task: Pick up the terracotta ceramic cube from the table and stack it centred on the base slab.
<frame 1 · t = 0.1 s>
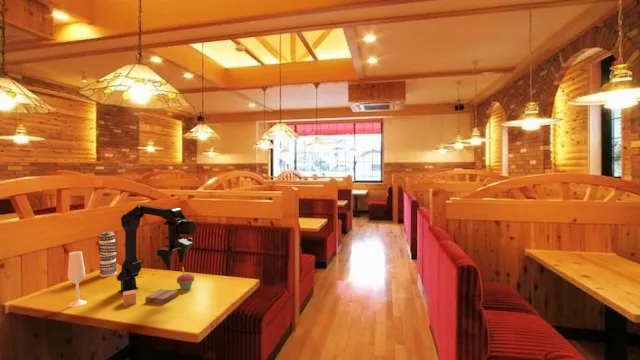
hand: (175, 265, 164), 15 cm above the table, tool pointing down, fingers open, 9 cm apart
cube: (129, 303, 156), on the table
champagne flute: (78, 304, 155), on the table
decorative candle: (108, 274, 198), on the table
cupcake: (185, 288, 174), on the table
base: (162, 298, 160), on the table
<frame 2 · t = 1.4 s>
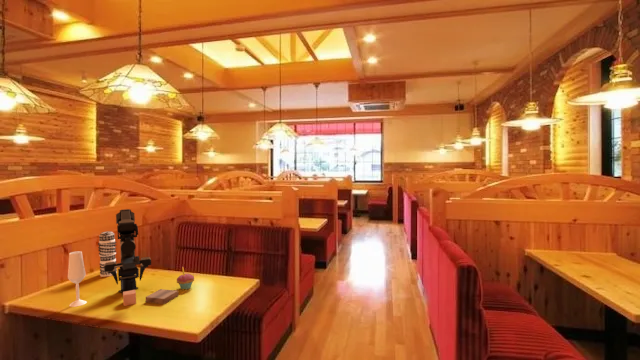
hand: (129, 282, 155), 10 cm above the table, tool pointing down, fingers open, 9 cm apart
nothing on the table moved.
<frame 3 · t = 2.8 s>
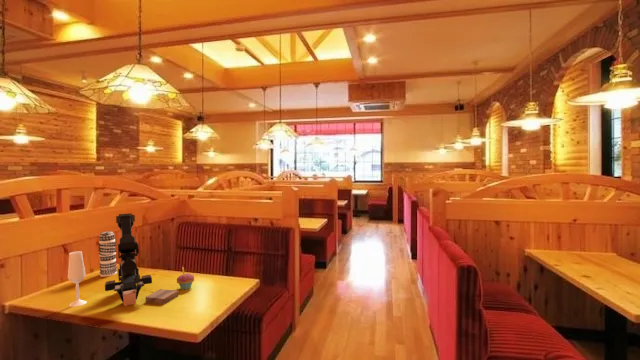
hand: (129, 300, 156), 1 cm above the table, tool pointing down, fingers closed on cube, 5 cm apart
cube: (129, 302, 156), on the table, touching gripper
everything else where it was.
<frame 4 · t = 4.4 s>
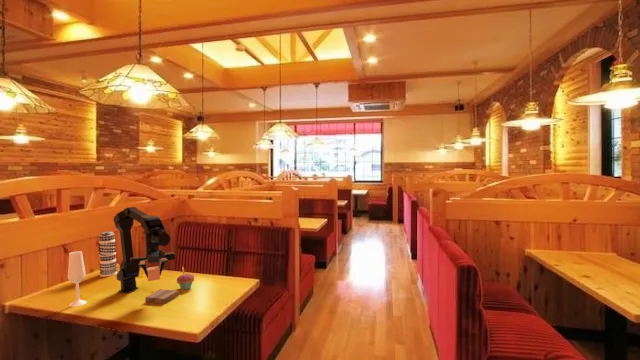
hand: (153, 276, 158), 11 cm above the table, tool pointing down, fingers closed on cube, 5 cm apart
cube: (153, 278, 158), point 10 cm above the table, touching gripper
everything else where it was.
when the fingers open (4 cm above the table, at t = 6.2 s): cube stays where it is, resting on base.
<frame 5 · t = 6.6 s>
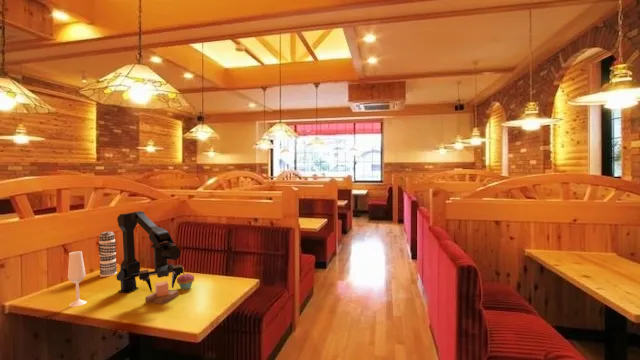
hand: (162, 289, 160), 4 cm above the table, tool pointing down, fingers open, 9 cm apart
cube: (162, 293, 160), point 2 cm above the table, touching base
everything else where it was.
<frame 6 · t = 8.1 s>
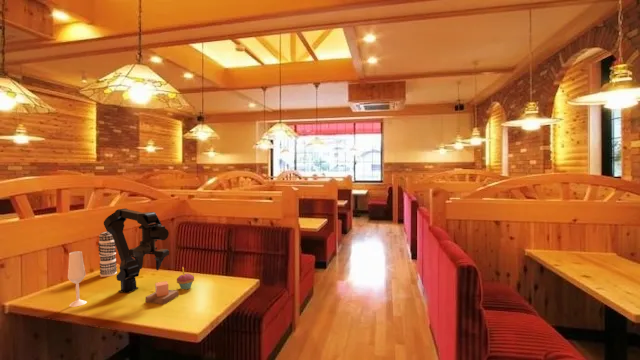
hand: (149, 269, 165), 13 cm above the table, tool pointing down, fingers open, 9 cm apart
nothing on the table moved.
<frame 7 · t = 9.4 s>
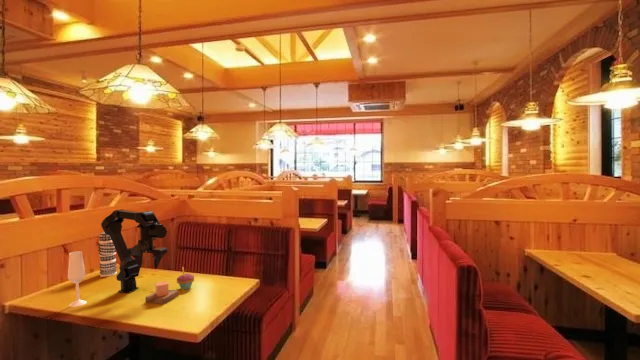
hand: (148, 268, 166), 13 cm above the table, tool pointing down, fingers open, 9 cm apart
nothing on the table moved.
at the end: cube inside the target area on the base (0.1 cm from its centre), point 2.5 cm above the base's base; cube tilted 0°; the gripper is holding nothing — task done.
